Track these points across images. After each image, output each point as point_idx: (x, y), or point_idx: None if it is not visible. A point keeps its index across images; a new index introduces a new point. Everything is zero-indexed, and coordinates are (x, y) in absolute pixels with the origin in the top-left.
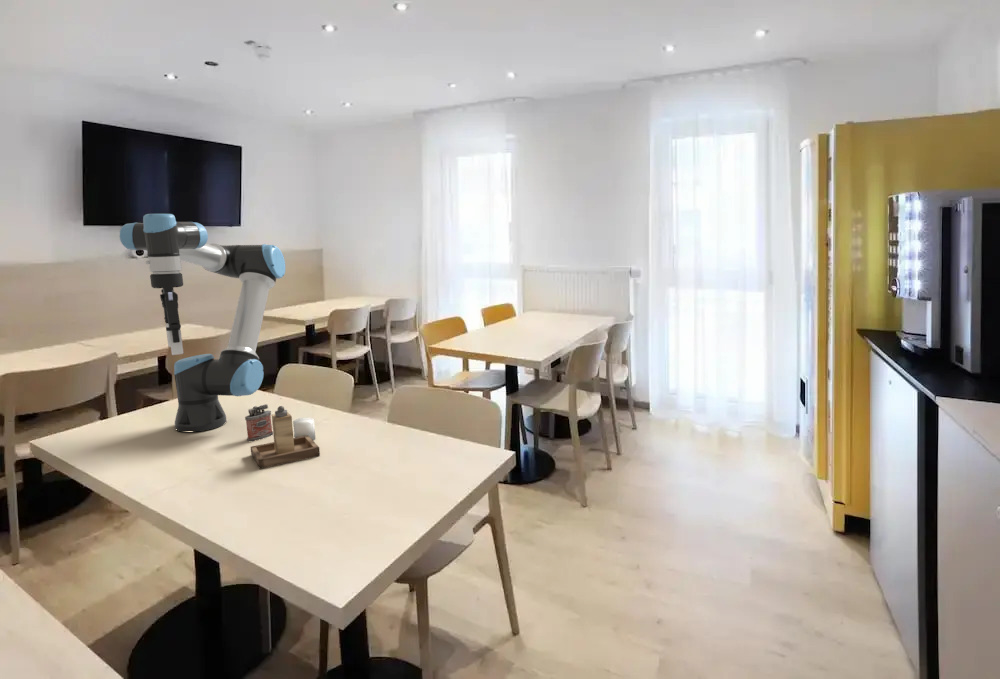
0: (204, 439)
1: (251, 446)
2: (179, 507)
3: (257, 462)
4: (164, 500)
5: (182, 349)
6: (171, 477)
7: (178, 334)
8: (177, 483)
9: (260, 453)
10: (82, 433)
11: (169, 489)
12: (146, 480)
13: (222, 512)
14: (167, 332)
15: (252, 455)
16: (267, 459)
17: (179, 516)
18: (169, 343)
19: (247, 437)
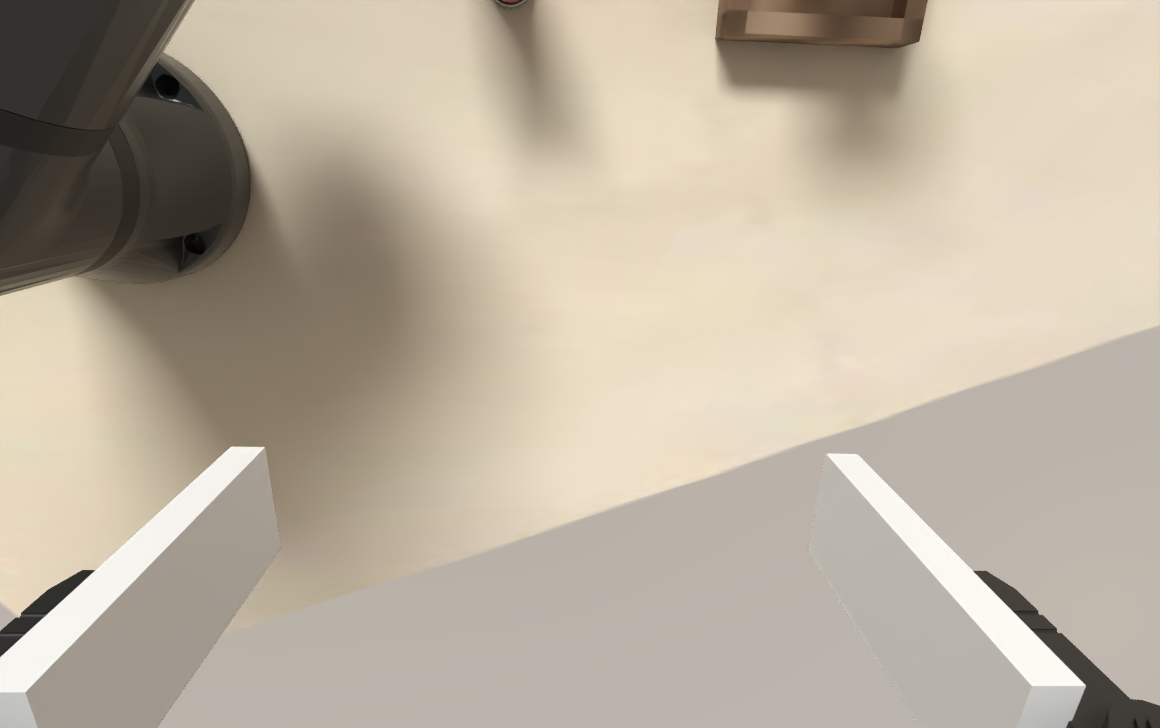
0: (374, 184)
1: (726, 27)
2: (1003, 340)
3: (870, 43)
4: (917, 372)
5: (883, 485)
6: (741, 339)
7: (1087, 662)
8: (810, 328)
9: (761, 1)
10: (44, 572)
11: (842, 353)
12: (712, 406)
13: (1144, 239)
14: (174, 687)
15: (749, 39)
16: (925, 1)
17: (1063, 346)
18: (261, 563)
19: (499, 2)
